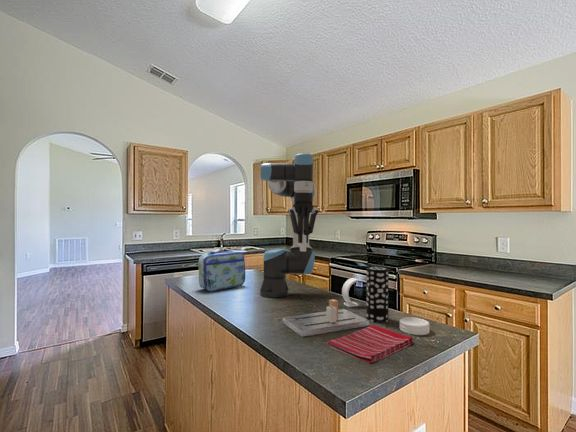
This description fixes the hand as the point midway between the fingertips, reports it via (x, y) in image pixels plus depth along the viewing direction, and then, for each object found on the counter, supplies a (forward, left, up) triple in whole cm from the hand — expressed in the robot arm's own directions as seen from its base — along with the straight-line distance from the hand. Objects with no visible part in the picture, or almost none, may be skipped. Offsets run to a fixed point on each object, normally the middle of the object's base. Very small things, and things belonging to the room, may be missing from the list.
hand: (303, 251), depth 127 cm
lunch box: (-64, -18, -27) cm, 72 cm away
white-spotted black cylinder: (+14, +26, -27) cm, 40 cm away
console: (+11, +4, -26) cm, 29 cm away
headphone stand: (-7, +28, -27) cm, 39 cm away
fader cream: (+15, +4, -24) cm, 29 cm away
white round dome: (+29, +30, -27) cm, 50 cm away
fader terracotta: (+7, +10, -24) cm, 27 cm away
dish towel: (+33, +7, -27) cm, 43 cm away
